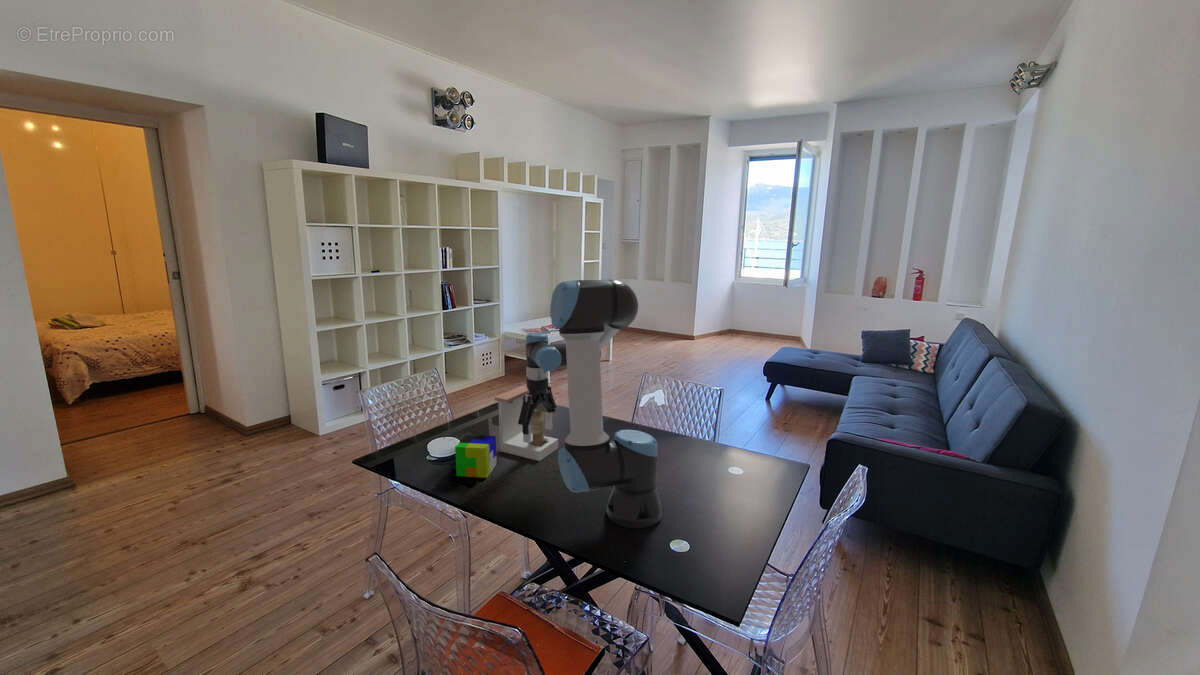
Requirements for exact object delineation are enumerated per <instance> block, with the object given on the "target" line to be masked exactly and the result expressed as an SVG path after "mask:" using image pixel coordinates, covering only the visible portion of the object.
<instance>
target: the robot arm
mask: <svg viewBox="0 0 1200 675" xmlns="http://www.w3.org/2000/svg"><path fill="white" fill-rule="evenodd" d="M638 310H639V301H638V298H637V295H636V293H635V292H634V290H633V289H632V288H631V287H630V286H629V285H628V284H627V283H624V282H623V281H621V280H617V279H593V280H590V279H589V280H588V279H584V280H583V279H581V280H580V279H574V280H573V279H572V280H565V281H561V282H558V284H557V285H556V286H555V288H554V290H553V293H552V296H551V299H550V312H549V313H550V319H551V324H552V326H553V327H554V328H556V329H558V331H559V332H558V333H559V334H558V335H559V336H561V338H562V339H564V341H565V343H558V344H557V343H556V344H549V336H548V334H547V333H545V332H532V333H528V334H526V336H525V343H524V344H525V356H526V357H525V360H526V361H525V362H526V363H525V364H526V367H525V368H526V375H525V376H526V386H527V389H528V390H529V391H530V393H529V395H527V394H526V395H524V396H522V402H523V405H522V409H521V413H520V417H519V421H518V424H520V425H522V426H523V442H526V443H531V433H532V428H531V427H532V424H530V423H531V421H532V415H533V413H534V410H536V408H538V405H540V404H541V405H542V406H543V407H544V409H545V411H544V427H545V428H544V429H545V430H548V431H552V430H553V428H554V427H553V417H554V416H553V413H555V412H556V408H557V404H556V402H555V398H554V395H553V393H552V387H551V386H549V378H548V377H549V372H553V371H555V370H557V369H558V368H562V367H566V370H567V371H566V373H567V375H566V376H567V392H568V414H569V416H568V417H569V434H567V436H565V438H564V447H561V448H558V449H559V450H557V462H558V468H559V472H560V475H561V477H562V480H563V483H564V485H565V486H566V487H567V489H568V490H569V491H570V492H572V493H575V494H576V493H582V492H583V493H585V492H586V493H587V492H590V491H591V492H592V491H596V490H601V489H604V488H608V487H610V488H611V487H613V488H612V490H611V493H610V495H609V499H608V502H607V504H606V514H607V517H608V519H609V520H610V521H612V522H613V523H614V524H616V525H618V526H620V527H623V528H628V529H638V530H639V529H645V528H650V527H652V526H654V525H656V524H658V522H660V521H661V519H662V513H663V512H662V510H663V508H662V503H661V500H660V496H659V494H658V491H657V477H658V476H657V474H658V472H657V471H658V470H657V469H658V456H659V452H658V442H657V440H656V438H654V436H652V435H651V434H649V433H646V432H643V431H641V430H635V429H621V430H617V431H616V432H615V433H614V435H613V439H611V440H610V436H609V435H608V434H607V433H606V432H605V431H604V422H603V420H604V418H603V417H604V416H603V400H602V398H603V397H602V396H603V395H602V393H603V392H602V375H601V357H602V349H603V348H604V347H605V346H606V345H607V344H608V343H609V342H610V341H611V340H612V339H613V338H614V336H616V334H617V333H618V332H619V331H620V330H624V329H627V328H628V327H629V326H630V325H631V324H632V323H633V322H634V320H636V317H637V315H638V312H639V311H638Z"/></svg>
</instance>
